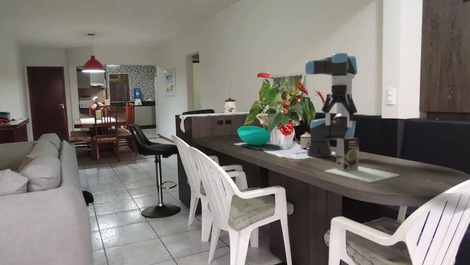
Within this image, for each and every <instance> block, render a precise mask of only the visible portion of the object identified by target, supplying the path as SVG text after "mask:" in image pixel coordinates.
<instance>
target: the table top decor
mask: <svg viewBox="0 0 470 265" xmlns="http://www.w3.org/2000/svg"><path fill="white" fill-rule="evenodd" d="M237 134H238V138H240V139H241V140H242V141H243V142H244V143H246V144H248V145H251V146H254V145H258V146H263V145H264V144H267V143H269V142H270V141H271V140H270V132H269V130H267V129H265V128H263V127H259V126H257V125H256V126H254V125H246V126H245V125H244V126H240V127H239V128H238V129H237ZM262 144H263V145H262Z"/></svg>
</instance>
